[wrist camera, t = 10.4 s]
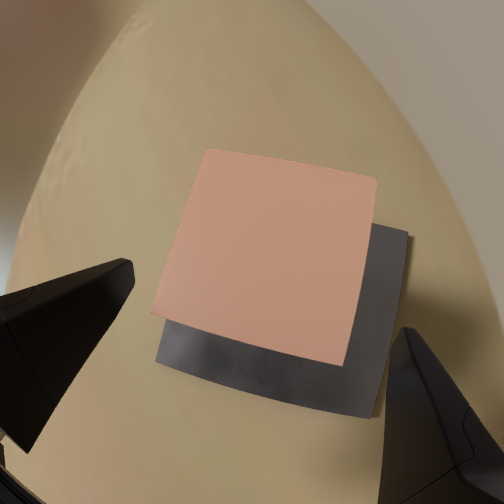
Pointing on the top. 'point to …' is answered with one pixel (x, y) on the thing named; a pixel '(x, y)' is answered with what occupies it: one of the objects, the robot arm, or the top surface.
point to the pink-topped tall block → (270, 254)
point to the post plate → (302, 369)
